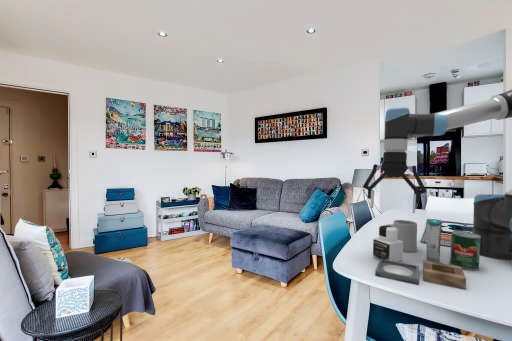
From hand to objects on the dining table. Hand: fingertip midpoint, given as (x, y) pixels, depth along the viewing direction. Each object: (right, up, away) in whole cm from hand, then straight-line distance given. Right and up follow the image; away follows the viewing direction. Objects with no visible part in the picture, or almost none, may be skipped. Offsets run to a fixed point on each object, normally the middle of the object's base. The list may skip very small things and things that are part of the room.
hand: (392, 210), depth 96 cm
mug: (+10, -18, +13) cm, 24 cm away
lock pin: (+13, -18, -2) cm, 23 cm away
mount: (+8, -19, -15) cm, 25 cm away
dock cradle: (-4, -19, -11) cm, 22 cm away
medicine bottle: (-1, -18, +1) cm, 18 cm away
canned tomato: (+22, -19, -5) cm, 29 cm away
